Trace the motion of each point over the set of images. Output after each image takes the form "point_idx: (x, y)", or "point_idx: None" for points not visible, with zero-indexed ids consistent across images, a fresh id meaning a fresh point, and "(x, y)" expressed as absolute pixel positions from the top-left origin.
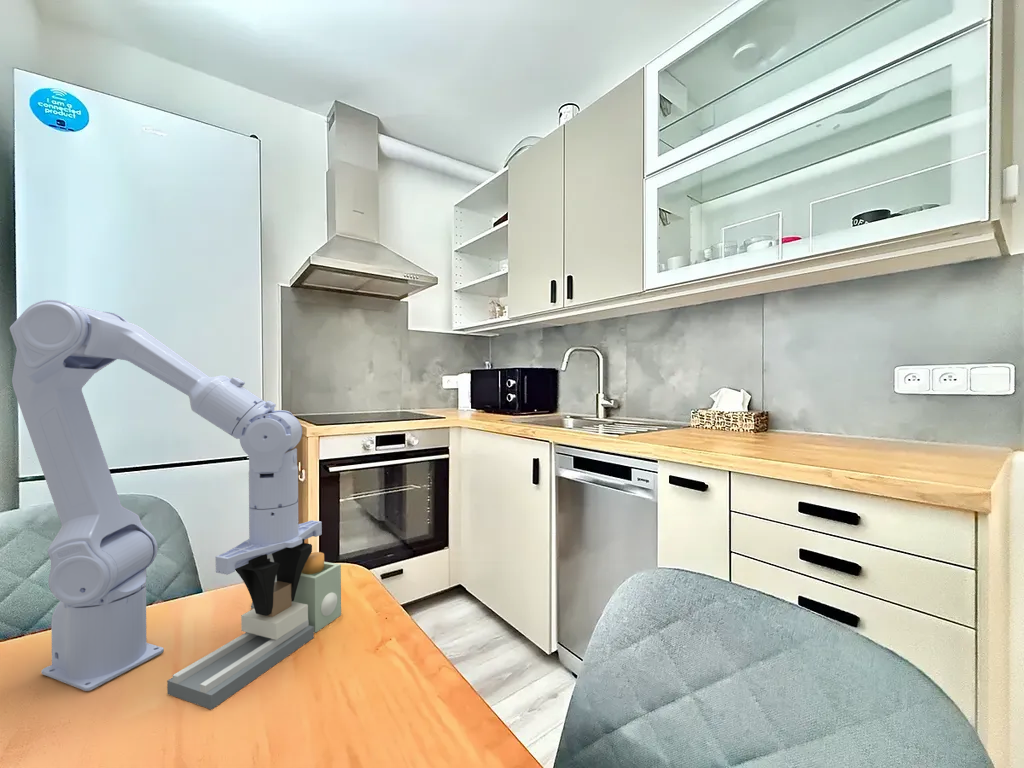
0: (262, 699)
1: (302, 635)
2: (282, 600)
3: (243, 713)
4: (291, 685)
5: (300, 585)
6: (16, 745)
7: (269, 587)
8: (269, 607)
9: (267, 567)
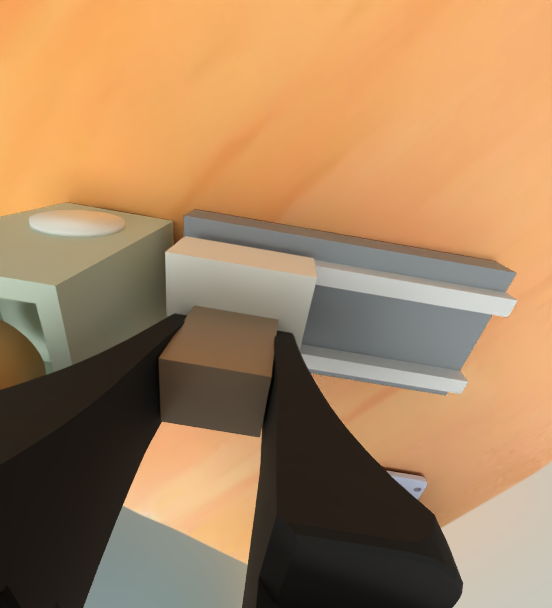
0: (468, 161)
1: (230, 222)
2: (225, 334)
3: (520, 172)
4: (411, 115)
5: (101, 341)
6: (534, 467)
7: (310, 402)
8: (291, 343)
9: (431, 566)
